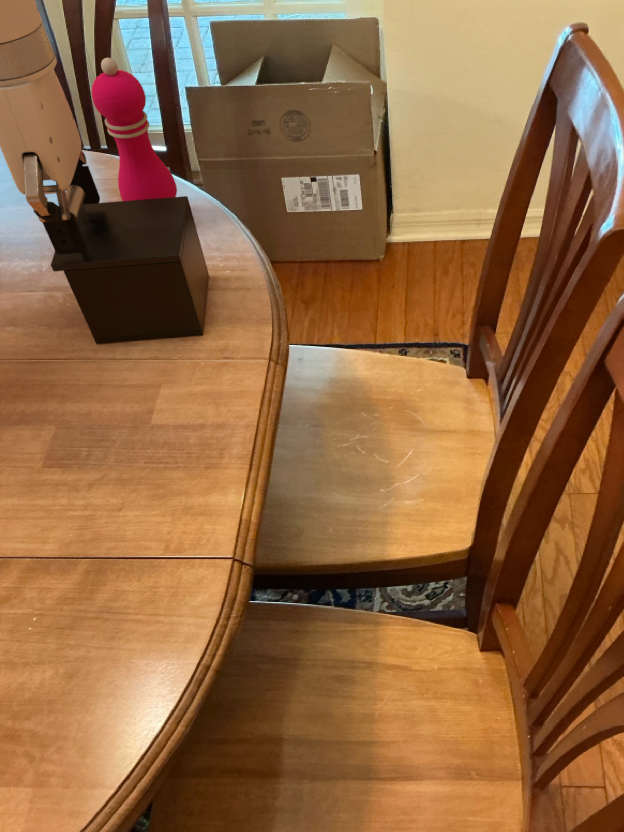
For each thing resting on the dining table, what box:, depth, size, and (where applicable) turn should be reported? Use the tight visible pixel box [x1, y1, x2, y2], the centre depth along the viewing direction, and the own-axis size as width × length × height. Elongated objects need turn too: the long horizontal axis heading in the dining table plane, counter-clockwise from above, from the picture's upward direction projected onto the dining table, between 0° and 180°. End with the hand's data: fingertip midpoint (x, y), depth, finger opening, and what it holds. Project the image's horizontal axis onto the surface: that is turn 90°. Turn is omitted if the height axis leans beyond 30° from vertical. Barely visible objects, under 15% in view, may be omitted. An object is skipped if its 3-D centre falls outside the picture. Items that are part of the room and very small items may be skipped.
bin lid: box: [50, 185, 190, 272], centre depth 82 cm, size 13×11×5 cm
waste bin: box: [63, 203, 210, 345], centre depth 88 cm, size 12×11×10 cm
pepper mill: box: [91, 57, 178, 201], centre depth 95 cm, size 7×7×20 cm
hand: (79, 226), depth 83 cm, fingers open, 8 cm apart
